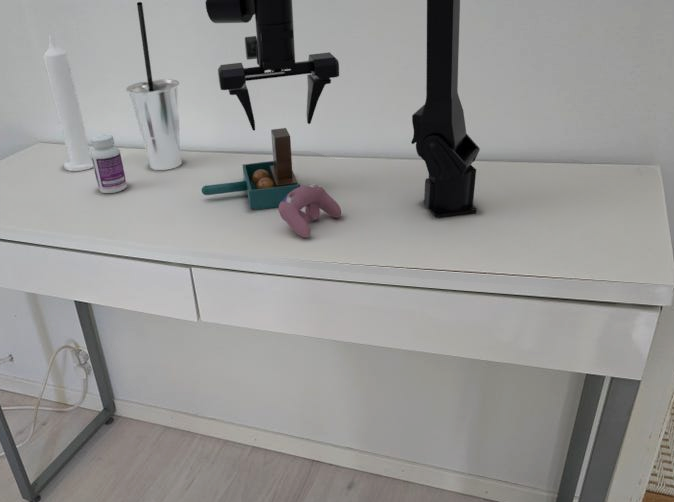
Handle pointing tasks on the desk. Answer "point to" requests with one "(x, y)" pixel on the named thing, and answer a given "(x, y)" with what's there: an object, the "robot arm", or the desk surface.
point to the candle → (67, 108)
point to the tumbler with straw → (157, 113)
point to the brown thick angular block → (282, 159)
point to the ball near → (265, 183)
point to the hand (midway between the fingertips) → (281, 126)
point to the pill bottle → (107, 164)
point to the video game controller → (307, 207)
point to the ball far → (259, 175)
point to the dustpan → (253, 188)
